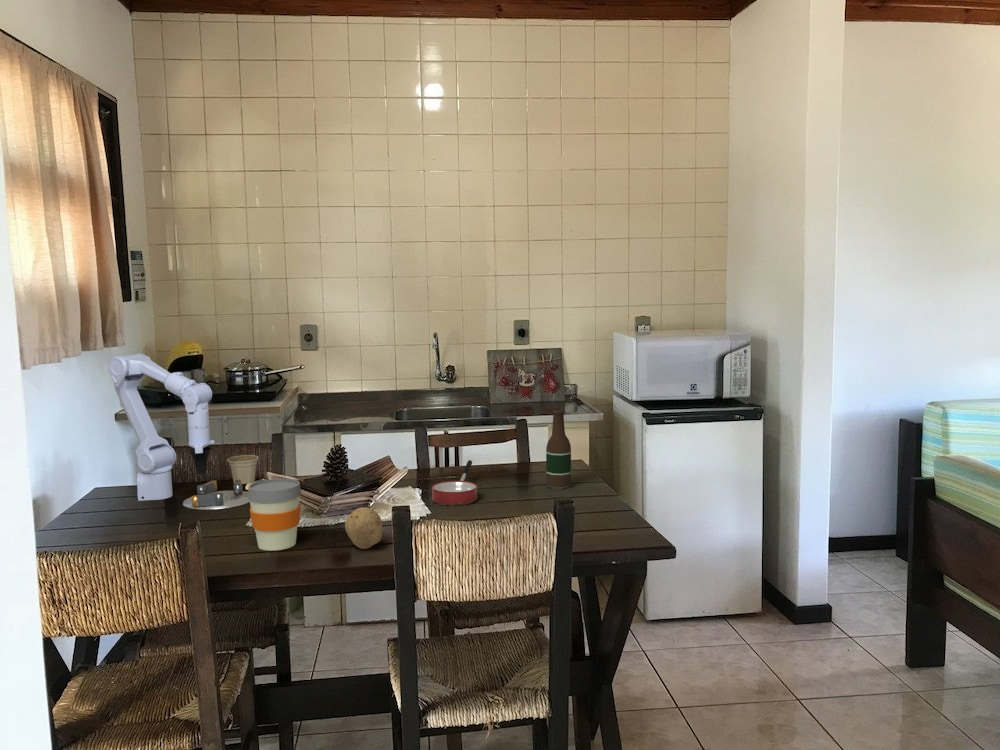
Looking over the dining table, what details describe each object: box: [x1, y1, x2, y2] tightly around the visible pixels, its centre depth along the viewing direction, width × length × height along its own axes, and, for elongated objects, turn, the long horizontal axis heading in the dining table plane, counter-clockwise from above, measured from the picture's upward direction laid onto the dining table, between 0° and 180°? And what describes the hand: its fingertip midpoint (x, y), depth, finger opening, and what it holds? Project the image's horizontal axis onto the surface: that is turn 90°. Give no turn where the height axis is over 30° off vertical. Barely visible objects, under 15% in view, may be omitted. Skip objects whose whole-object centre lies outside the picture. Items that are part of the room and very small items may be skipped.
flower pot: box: [226, 454, 259, 485], centre depth 262 cm, size 9×9×9 cm
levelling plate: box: [182, 490, 250, 510], centre depth 241 cm, size 20×20×2 cm
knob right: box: [233, 479, 243, 495], centre depth 248 cm, size 8×2×3 cm, turn 18°
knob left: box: [196, 480, 218, 495], centre depth 247 cm, size 8×2×3 cm, turn 168°
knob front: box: [191, 492, 224, 507], centre depth 234 cm, size 8×2×3 cm, turn 108°
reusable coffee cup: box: [247, 478, 302, 552], centre depth 203 cm, size 13×13×15 cm
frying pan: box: [431, 459, 478, 504], centre depth 250 cm, size 32×13×6 cm, turn 178°
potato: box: [344, 506, 383, 550], centre depth 200 cm, size 9×9×10 cm
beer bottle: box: [545, 408, 572, 487], centre depth 254 cm, size 8×8×24 cm
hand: (201, 473), depth 239 cm, fingers closed
